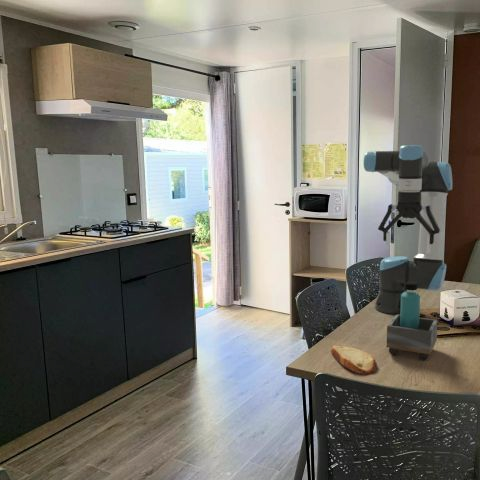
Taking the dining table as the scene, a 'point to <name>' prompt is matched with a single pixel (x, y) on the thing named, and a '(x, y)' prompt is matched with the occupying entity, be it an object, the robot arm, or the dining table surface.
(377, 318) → the dining table surface
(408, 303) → the beverage bottle
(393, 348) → the cart
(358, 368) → the bread slice
